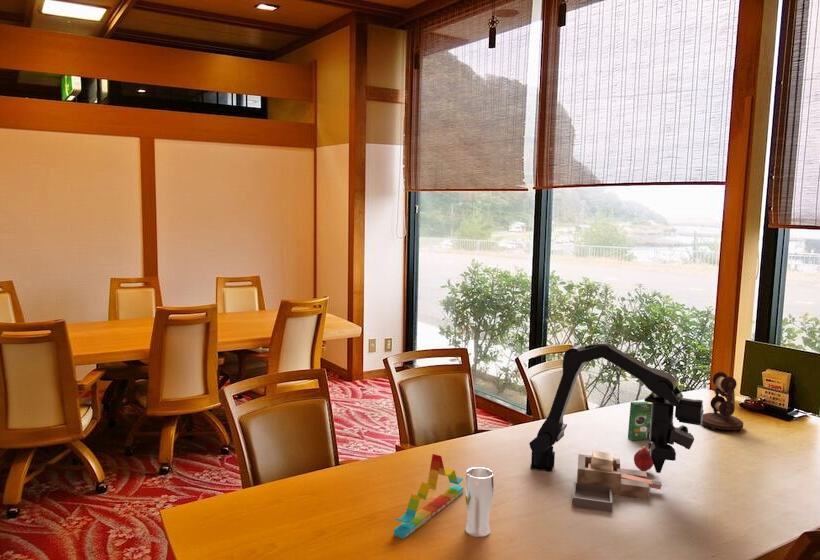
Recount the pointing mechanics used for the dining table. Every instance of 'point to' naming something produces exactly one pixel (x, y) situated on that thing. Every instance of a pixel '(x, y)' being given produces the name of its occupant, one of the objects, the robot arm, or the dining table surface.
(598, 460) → the block
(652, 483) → the lever
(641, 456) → the onion
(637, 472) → the brown wooden lever base
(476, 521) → the beer glass
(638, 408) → the coffee box
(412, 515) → the chart
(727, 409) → the brown roll holder stand
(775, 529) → the dining table surface
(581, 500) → the tray
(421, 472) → the dining table surface
